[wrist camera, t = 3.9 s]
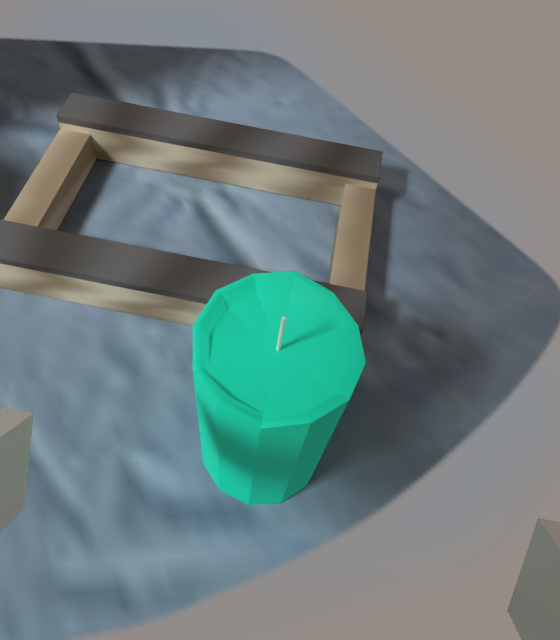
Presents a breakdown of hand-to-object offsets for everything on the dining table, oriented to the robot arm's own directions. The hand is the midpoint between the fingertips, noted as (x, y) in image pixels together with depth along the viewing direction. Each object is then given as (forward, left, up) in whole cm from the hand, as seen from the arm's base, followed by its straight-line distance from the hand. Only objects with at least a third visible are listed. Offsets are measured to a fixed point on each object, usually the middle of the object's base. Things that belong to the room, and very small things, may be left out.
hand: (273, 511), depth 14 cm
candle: (-1, +6, -12) cm, 13 cm away
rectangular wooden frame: (-7, +19, -12) cm, 23 cm away
